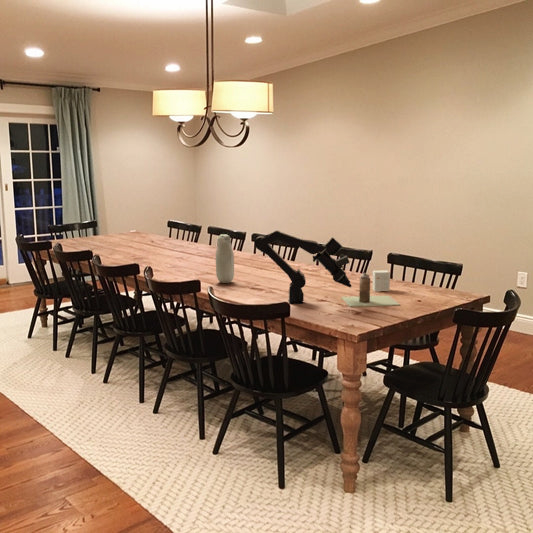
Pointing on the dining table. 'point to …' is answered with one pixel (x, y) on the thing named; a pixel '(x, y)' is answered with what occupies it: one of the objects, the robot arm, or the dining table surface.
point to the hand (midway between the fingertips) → (350, 284)
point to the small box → (381, 280)
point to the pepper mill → (364, 289)
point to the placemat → (373, 301)
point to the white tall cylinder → (224, 259)
